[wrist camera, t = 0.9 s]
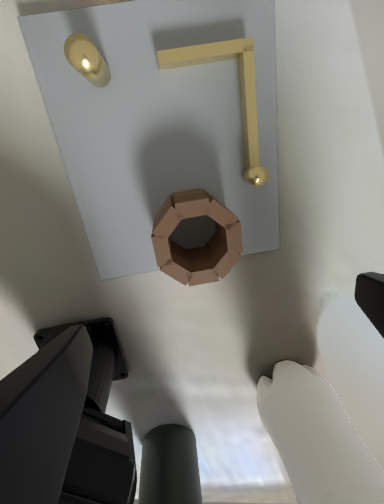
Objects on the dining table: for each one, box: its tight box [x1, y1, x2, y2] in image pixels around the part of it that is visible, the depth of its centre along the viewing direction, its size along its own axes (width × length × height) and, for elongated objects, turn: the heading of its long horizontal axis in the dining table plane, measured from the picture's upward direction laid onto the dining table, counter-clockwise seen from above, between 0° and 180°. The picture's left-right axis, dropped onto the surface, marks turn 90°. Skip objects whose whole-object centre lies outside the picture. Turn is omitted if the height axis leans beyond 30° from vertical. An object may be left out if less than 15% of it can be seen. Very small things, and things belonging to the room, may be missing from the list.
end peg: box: [64, 33, 111, 87], centre depth 13 cm, size 1×1×4 cm
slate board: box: [17, 0, 280, 280], centre depth 17 cm, size 16×14×1 cm
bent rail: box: [157, 37, 269, 187], centre depth 16 cm, size 8×6×2 cm
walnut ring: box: [151, 188, 243, 286], centre depth 17 cm, size 5×5×4 cm
